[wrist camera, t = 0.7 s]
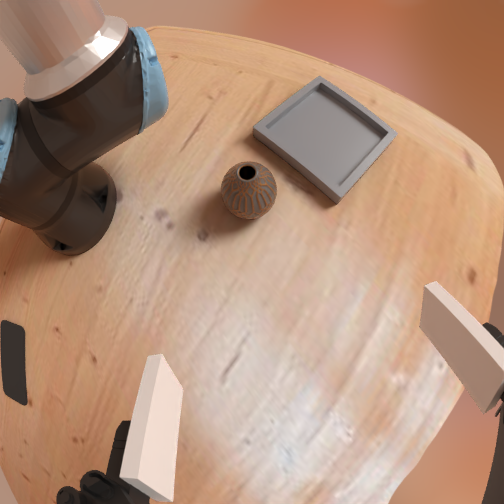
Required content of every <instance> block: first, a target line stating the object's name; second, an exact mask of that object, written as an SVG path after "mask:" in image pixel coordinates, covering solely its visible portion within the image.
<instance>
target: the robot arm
mask: <svg viewBox="0 0 504 504" xmlns="http://www.w3.org/2000/svg"><path fill="white" fill-rule="evenodd" d="M0 39H1V41H2V42H3V43H4V44H5V46H6V47H7V48H8V50H9V51H10V52H11V53H12V55H13V56H14V57H15V58H16V59H17V61H18V62H19V63H20V64H21V65H22V67H23V68H24V69H25V70H26V72H27V74H26V78H25V84H24V93H25V95H26V98H25V99H24V100H23V101H21V102H20V103H19V104H17V103H16V101H15V100H14V99H10V98H4V99H2V100H0V216H1V217H3V218H6V219H8V220H11V221H13V222H16V223H18V224H21V225H23V226H26V227H28V228H30V229H32V230H33V231H34V232H35V233H36V234H37V235H38V236H39V238H40V239H41V240H42V241H43V242H44V243H45V244H46V245H47V246H48V247H49V248H51V249H52V250H54V251H56V252H59V253H62V254H65V255H77V254H80V253H83V252H85V251H87V250H89V249H90V248H92V247H93V246H94V245H95V244H96V243H97V242H98V241H99V240H100V239H101V238H102V237H103V235H104V234H105V232H106V231H107V229H108V227H109V225H110V223H111V221H112V218H113V215H114V212H115V207H116V189H115V185H114V182H113V180H112V178H111V176H110V175H109V174H108V173H107V172H106V171H105V170H104V169H103V168H102V167H101V166H99V165H98V164H96V163H94V162H92V161H94V160H96V159H97V158H99V157H100V156H102V155H103V154H105V153H107V152H108V151H110V150H111V149H113V148H115V147H116V146H118V145H120V144H121V143H123V142H125V141H126V140H128V139H130V138H132V137H133V136H135V135H138V134H140V133H142V132H143V130H144V129H145V128H147V127H149V126H150V125H152V124H153V123H155V122H157V121H158V120H160V119H161V118H162V117H163V116H164V115H165V113H166V112H167V109H168V92H167V87H166V82H165V78H164V75H163V71H162V68H161V65H160V63H159V62H158V58H157V55H156V51H155V48H154V45H153V43H152V41H151V39H150V37H149V35H148V33H147V32H146V31H145V29H144V28H142V27H135V28H134V27H132V28H129V27H128V25H127V23H126V21H125V20H124V19H122V18H120V17H114V16H108V15H104V13H103V11H102V9H101V7H100V4H99V2H98V0H0ZM419 327H420V328H421V330H422V331H423V332H424V333H425V335H426V336H427V337H428V338H429V340H430V341H431V342H432V344H433V345H434V346H435V347H436V349H437V350H438V351H439V353H440V354H441V355H442V357H443V358H444V359H445V361H446V362H447V363H448V365H449V366H450V367H451V369H452V370H453V371H454V373H455V374H456V376H457V377H458V378H459V380H460V381H461V382H462V384H463V385H464V387H465V388H466V390H467V391H468V392H469V394H470V395H471V397H472V398H473V400H474V401H475V403H476V404H477V406H478V407H479V409H480V410H481V412H482V413H483V414H484V413H486V412H487V411H489V410H490V409H492V408H493V407H495V406H496V404H497V402H498V401H499V399H500V398H501V400H502V401H503V403H502V404H501V406H500V407H499V409H498V410H497V412H496V415H495V416H496V417H497V415H498V414H499V413H500V422H499V429H498V436H497V442H496V448H495V453H494V458H493V463H492V467H491V472H490V476H489V480H488V484H487V487H486V491H485V494H484V497H483V501H482V504H504V335H502V333H501V332H500V331H499V330H498V329H497V328H496V327H494V326H493V325H491V324H489V323H487V322H486V323H485V324H483V325H481V324H480V323H479V322H478V321H477V320H476V319H475V318H474V317H473V316H472V315H471V314H470V313H469V312H468V311H467V310H466V309H465V308H464V307H463V306H462V305H461V304H460V303H459V302H458V301H457V300H456V299H455V298H454V297H453V296H451V295H450V294H449V293H448V292H447V291H446V290H445V289H444V288H443V287H442V286H441V285H440V284H438V283H437V282H436V281H435V282H432V283H429V284H427V285H424V293H423V303H422V312H421V319H420V326H419ZM182 396H183V388H182V386H181V385H180V383H179V381H178V380H177V378H176V377H175V375H174V373H173V372H172V370H171V368H170V367H169V365H168V363H167V362H166V360H165V358H164V356H163V355H162V354H157V355H150V356H148V358H147V361H146V365H145V369H144V372H143V376H142V380H141V384H140V387H139V391H138V395H137V399H136V403H135V407H134V411H133V415H132V420H131V421H122V422H121V424H120V425H119V427H118V428H117V430H116V434H115V438H114V442H113V446H112V448H113V449H112V450H111V454H110V459H109V463H108V468H107V472H106V475H105V474H104V473H102V472H100V471H98V470H92V471H89V472H87V473H86V474H85V475H83V477H82V479H81V481H80V488H81V491H78V490H76V489H75V488H73V487H70V486H65V487H63V488H61V489H60V490H59V491H58V494H57V500H56V501H57V504H150V503H149V499H150V498H152V499H154V500H155V501H163V502H173V494H174V480H175V467H176V455H177V444H178V433H179V423H180V414H181V405H182ZM500 411H501V412H500Z"/></svg>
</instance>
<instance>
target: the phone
mask: <svg viewBox="0 0 504 504" xmlns="http://www.w3.org/2000/svg"><path fill="white" fill-rule="evenodd" d="M1 368H2V381H3V390H4V392H5V394H6V395H7V396H8V397H10V398H12V399H13V400H15V401H17V402H19V403H20V404H22V405H27V390H26V373H25V331H24V328H23V327H22V326H19V325H17V324H14V323H11V322H9V321H6V320H3V321H2V322H1Z"/></svg>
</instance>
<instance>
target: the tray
mask: <svg viewBox="0 0 504 504" xmlns="http://www.w3.org/2000/svg"><path fill="white" fill-rule="evenodd" d="M397 134H398V133H397V132H396V131H395V130H393V129H392V128H391V127H390V126H389V125H387V124H386V123H385V122H384V121H382V120H381V119H380V118H379V117H377V116H376V115H375V114H374V113H372V112H371V111H370V110H368V109H367V108H366V107H364V106H363V105H362V104H360V103H359V102H358V101H356V100H355V99H353V98H352V97H351V96H349V95H348V94H346V93H345V92H343V91H342V90H341V89H339V88H338V87H336V86H335V85H333V84H332V83H330V82H329V81H327V80H325V79H324V78H322V77H321V76H318V77H317V78H315V79H314V80H313V81H311V82H310V83H309V84H307V85H306V86H304V87H303V88H302V89H300V90H299V91H298V92H296V93H295V94H294V95H292V96H291V97H290V98H288V99H287V100H286V101H285V102H283V103H282V104H281V105H279V106H278V107H277V108H276V109H274V110H273V111H272V112H271V113H269V114H268V115H267V116H266V117H264V118H263V119H262V120H261V121H259V122H258V123H257V124H256V125H255V126H253V136H254V137H255V138H256V139H258V140H259V141H260V142H262V143H263V144H264V145H266V146H267V147H268V148H270V149H271V150H272V151H273V152H275V153H276V154H277V155H278V156H280V157H281V158H282V159H283V160H285V161H286V162H287V163H288V164H290V165H291V166H292V167H293V168H295V169H296V170H297V171H298V172H300V173H301V174H302V175H303V176H304V177H306V178H307V179H308V180H309V181H310V182H311V183H313V184H314V185H315V186H316V187H317V188H319V189H320V190H321V191H322V192H323V193H324V194H325V195H327V196H328V197H329V198H330V199H331V200H332V201H333V202H335V203H336V204H338V203H339V202H340V201H341V199H342V198H343V197H344V196H345V195H346V194H347V193H348V192H349V190H350V189H351V188H352V187H353V186H354V185H355V184H356V183H357V181H358V180H359V179H360V178H361V177H362V176H363V175H364V173H365V172H366V171H367V170H368V169H369V168H370V167H371V166H372V164H373V163H374V162H375V161H376V160H377V159H378V157H379V156H380V155H381V154H382V153H383V152H384V151H385V149H386V148H387V147H388V146H389V145H390V144H391V142H392V141H393V140H394V138H395V137H396V136H397Z"/></svg>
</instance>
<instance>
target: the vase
mask: <svg viewBox="0 0 504 504" xmlns="http://www.w3.org/2000/svg"><path fill="white" fill-rule="evenodd" d="M276 194H277V186H276V182H275V179H274V177H273V175H272V174H271V172H270V171H269V170H268V169H267V168H266V167H264V166H263V165H261V164H259V163H256V162H241V163H238V164H236V165H235V166H233V167H232V168H231V169H229V171H228V172H227V173H226V175H225V176H224V179H223V181H222V185H221V195H222V199H223V202H224V204H225V206H226V207H227V209H228V210H229V211H230V212H231V213H232V214H234V215H235V216H237V217H240V218H243V219H255V218H259V217H261V216H263V215H264V214H266V213H267V212H268V211H269V210H270V209H271V207H272V206H273V204H274V202H275V199H276Z"/></svg>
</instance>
